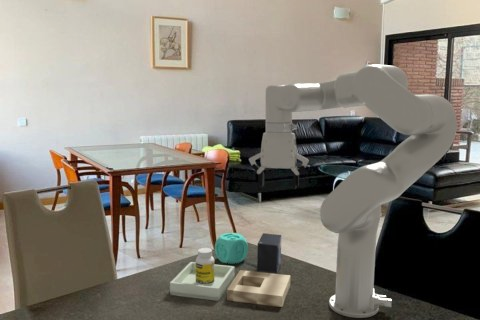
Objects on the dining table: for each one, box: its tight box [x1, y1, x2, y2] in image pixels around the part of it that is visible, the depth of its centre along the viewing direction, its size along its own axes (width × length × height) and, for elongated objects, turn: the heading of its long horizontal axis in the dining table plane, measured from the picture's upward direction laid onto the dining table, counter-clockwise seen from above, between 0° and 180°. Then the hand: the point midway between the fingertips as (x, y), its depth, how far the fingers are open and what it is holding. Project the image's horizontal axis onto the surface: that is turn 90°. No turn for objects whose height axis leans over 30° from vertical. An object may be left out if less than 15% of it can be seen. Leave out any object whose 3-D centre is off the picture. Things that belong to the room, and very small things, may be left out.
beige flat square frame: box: [226, 269, 291, 308], centre depth 132 cm, size 15×14×3 cm
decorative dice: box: [214, 232, 249, 265], centre depth 156 cm, size 8×8×8 cm
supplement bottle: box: [195, 247, 215, 286], centre depth 135 cm, size 5×5×10 cm
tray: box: [169, 261, 236, 302], centre depth 136 cm, size 14×16×4 cm
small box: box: [256, 232, 282, 274], centre depth 146 cm, size 11×6×10 cm, turn 168°
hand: (278, 187), depth 137 cm, fingers open, 9 cm apart
